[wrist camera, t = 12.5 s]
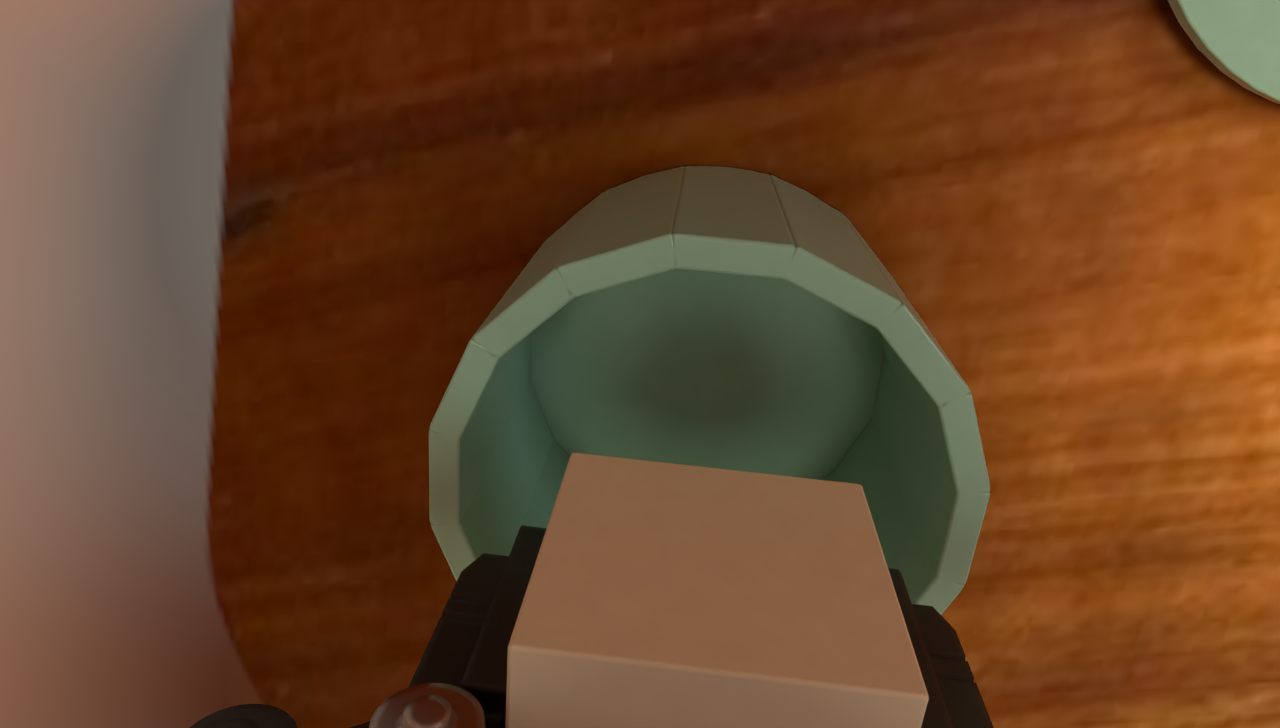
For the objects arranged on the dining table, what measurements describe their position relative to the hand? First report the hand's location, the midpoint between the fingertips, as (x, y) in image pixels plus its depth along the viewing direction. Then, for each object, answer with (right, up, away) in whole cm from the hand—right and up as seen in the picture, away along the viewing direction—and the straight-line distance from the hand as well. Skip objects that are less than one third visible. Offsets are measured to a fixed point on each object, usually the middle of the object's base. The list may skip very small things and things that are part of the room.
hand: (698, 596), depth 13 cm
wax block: (0, 0, 0) cm, 0 cm away
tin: (+1, +4, +9) cm, 10 cm away
